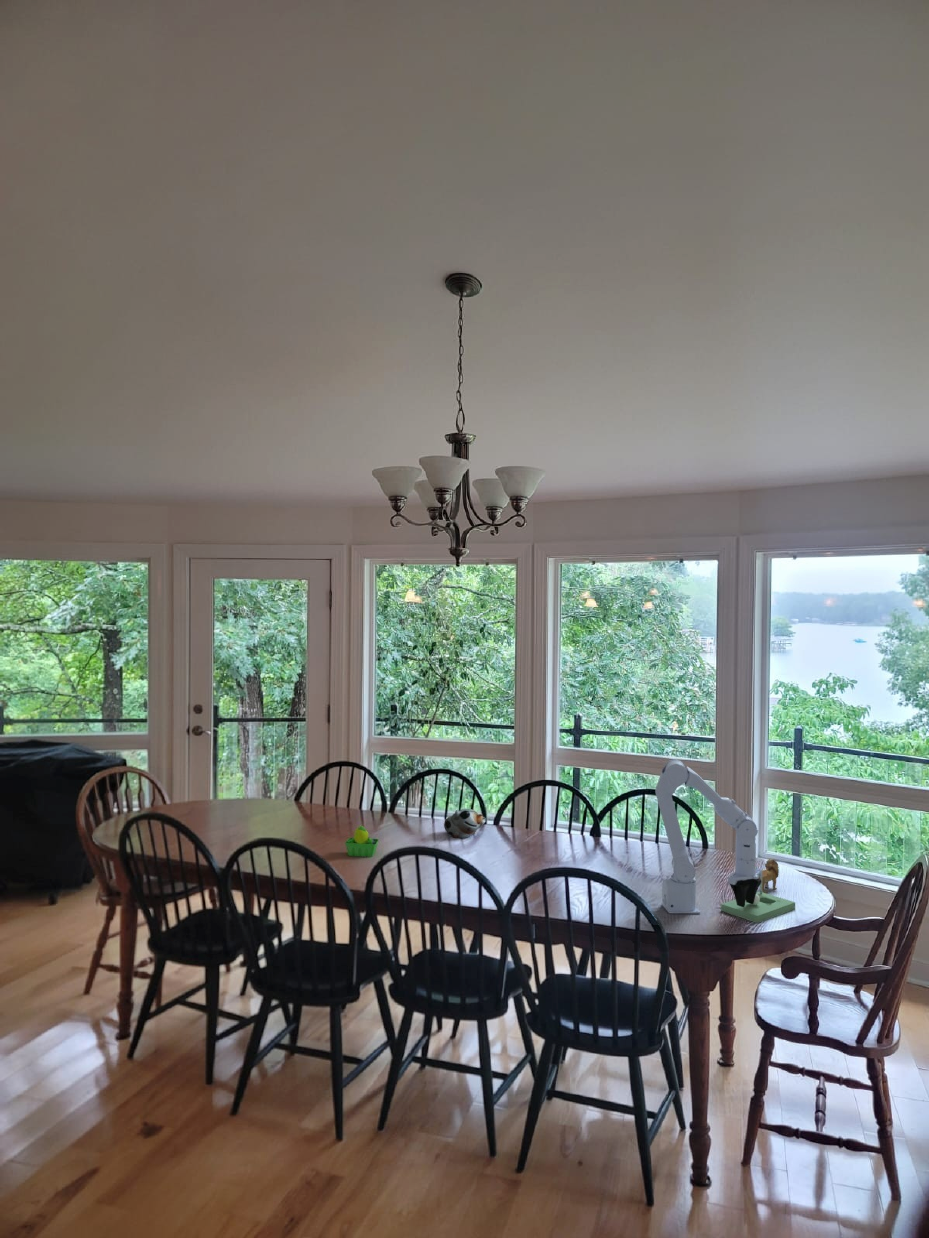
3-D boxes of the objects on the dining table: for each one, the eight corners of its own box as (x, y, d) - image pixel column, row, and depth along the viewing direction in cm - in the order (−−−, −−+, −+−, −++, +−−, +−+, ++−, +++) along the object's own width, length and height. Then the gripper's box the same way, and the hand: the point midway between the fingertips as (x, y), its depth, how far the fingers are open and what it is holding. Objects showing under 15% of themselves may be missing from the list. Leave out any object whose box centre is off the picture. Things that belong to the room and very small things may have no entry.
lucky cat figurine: (474, 829, 324) (486, 803, 319) (477, 848, 312) (490, 821, 308) (441, 820, 320) (453, 793, 316) (443, 839, 309) (456, 811, 305)
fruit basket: (379, 852, 289) (379, 821, 289) (374, 859, 280) (374, 827, 280) (349, 851, 290) (349, 820, 290) (343, 857, 281) (343, 826, 281)
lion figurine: (766, 883, 258) (766, 856, 258) (782, 886, 254) (782, 859, 254) (747, 893, 247) (747, 865, 248) (763, 897, 244) (763, 868, 244)
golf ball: (749, 904, 229) (751, 892, 230) (744, 902, 232) (746, 890, 233) (760, 907, 229) (762, 895, 230) (755, 905, 232) (757, 893, 233)
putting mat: (757, 922, 222) (757, 891, 222) (721, 910, 231) (721, 880, 231) (798, 907, 234) (798, 877, 235) (762, 896, 244) (762, 868, 244)
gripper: (743, 865, 221) (743, 913, 221) (771, 857, 230) (771, 903, 229) (721, 859, 227) (721, 906, 226) (750, 851, 235) (750, 896, 235)
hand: (745, 904), depth 228 cm, fingers open, 4 cm apart
